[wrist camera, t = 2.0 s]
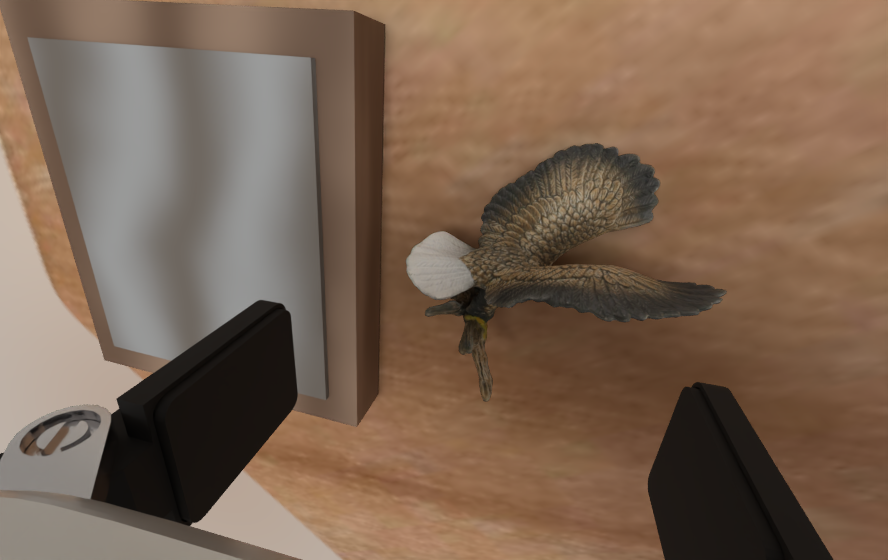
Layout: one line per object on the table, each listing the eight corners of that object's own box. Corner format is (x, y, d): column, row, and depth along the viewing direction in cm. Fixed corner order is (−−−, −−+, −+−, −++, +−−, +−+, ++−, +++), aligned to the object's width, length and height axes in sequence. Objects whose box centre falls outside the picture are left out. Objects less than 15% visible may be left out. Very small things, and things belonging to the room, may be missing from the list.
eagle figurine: (535, 386, 20) (747, 308, 14) (429, 419, 14) (703, 315, 9) (479, 244, 22) (643, 132, 17) (371, 227, 17) (560, 56, 11)
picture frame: (384, 24, 16) (349, 9, 14) (378, 394, 24) (354, 431, 21) (65, 7, 20) (-14, -8, 17) (145, 337, 27) (99, 362, 24)
